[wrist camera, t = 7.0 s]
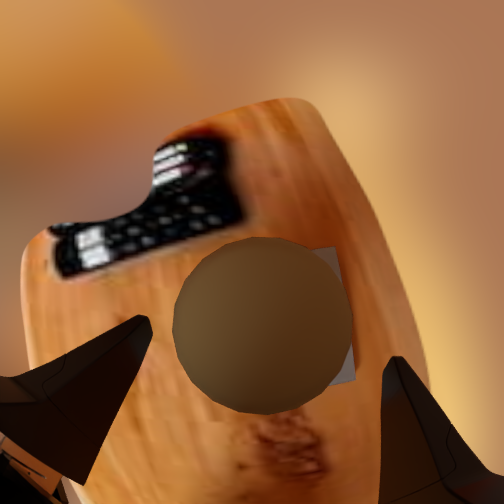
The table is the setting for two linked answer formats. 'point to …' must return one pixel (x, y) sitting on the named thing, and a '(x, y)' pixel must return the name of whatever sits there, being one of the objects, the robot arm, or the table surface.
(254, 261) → the cork
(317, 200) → the table surface
